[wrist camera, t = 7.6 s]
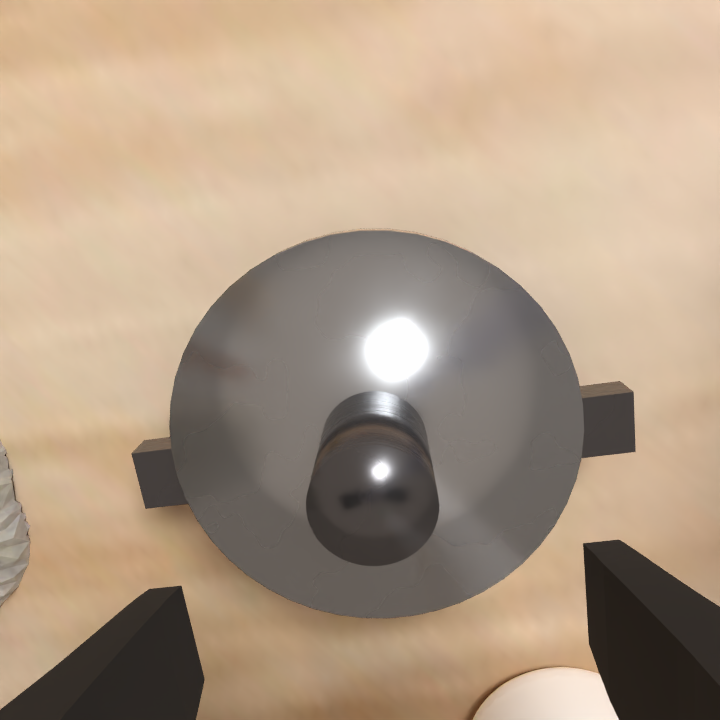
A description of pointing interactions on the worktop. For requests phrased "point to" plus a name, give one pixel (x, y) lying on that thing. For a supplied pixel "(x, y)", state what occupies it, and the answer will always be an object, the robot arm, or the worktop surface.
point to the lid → (376, 424)
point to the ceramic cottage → (11, 533)
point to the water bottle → (549, 697)
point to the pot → (601, 437)
